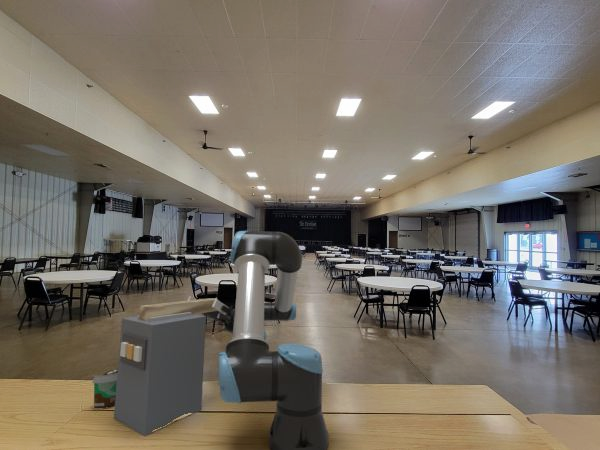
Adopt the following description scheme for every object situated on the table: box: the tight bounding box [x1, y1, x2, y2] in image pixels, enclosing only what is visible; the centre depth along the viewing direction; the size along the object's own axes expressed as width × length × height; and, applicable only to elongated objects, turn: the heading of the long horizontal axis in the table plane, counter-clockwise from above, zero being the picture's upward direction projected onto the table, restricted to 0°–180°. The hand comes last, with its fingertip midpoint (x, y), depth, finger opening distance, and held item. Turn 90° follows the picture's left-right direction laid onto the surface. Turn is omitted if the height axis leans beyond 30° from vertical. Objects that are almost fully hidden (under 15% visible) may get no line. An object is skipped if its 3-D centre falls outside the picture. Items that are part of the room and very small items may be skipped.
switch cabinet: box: [113, 312, 207, 437], centre depth 94 cm, size 16×19×29 cm
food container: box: [92, 368, 118, 409], centre depth 100 cm, size 12×6×10 cm, turn 168°
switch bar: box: [139, 297, 219, 321], centre depth 102 cm, size 4×26×4 cm, turn 146°
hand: (200, 301), depth 108 cm, fingers open, 13 cm apart
